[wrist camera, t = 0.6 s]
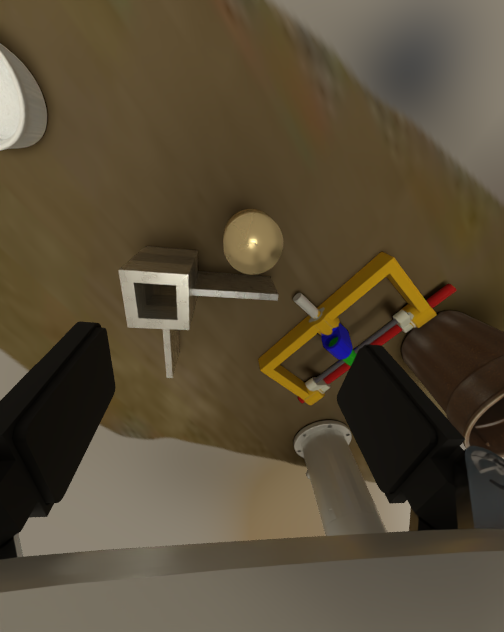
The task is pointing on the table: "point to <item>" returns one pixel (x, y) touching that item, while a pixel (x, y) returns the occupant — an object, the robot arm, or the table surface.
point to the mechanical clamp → (337, 335)
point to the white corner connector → (178, 292)
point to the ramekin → (19, 104)
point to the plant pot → (462, 374)
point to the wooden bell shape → (252, 242)
